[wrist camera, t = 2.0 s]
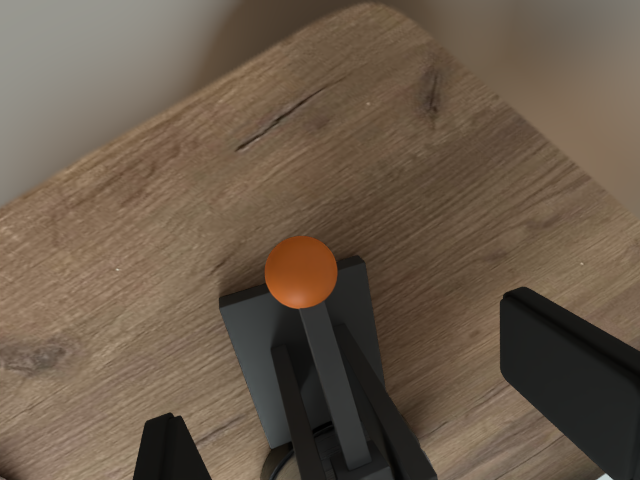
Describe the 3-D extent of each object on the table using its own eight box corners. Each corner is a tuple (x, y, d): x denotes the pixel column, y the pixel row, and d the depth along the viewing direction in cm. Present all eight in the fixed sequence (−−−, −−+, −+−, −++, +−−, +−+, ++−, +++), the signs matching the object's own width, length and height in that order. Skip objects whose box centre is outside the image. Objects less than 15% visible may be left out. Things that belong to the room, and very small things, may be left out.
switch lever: (255, 249, 17) (255, 245, 14) (319, 230, 18) (331, 223, 15) (334, 513, 17) (351, 569, 14) (396, 486, 18) (425, 534, 15)
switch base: (218, 297, 22) (225, 486, 11) (358, 254, 23) (481, 382, 13) (268, 435, 26) (306, 659, 16) (381, 391, 28) (485, 568, 17)
